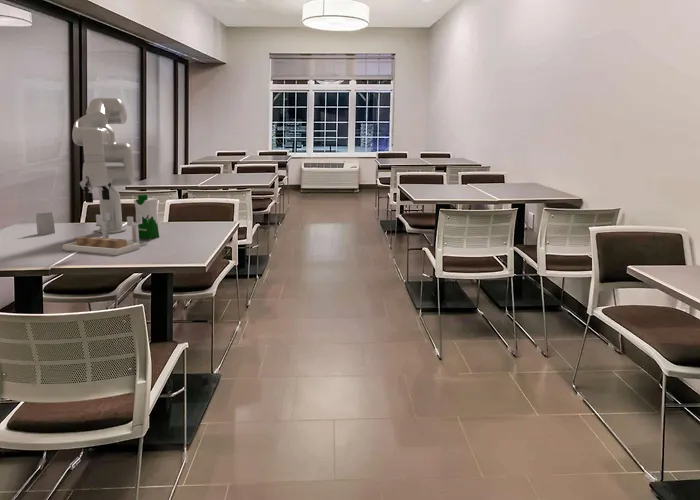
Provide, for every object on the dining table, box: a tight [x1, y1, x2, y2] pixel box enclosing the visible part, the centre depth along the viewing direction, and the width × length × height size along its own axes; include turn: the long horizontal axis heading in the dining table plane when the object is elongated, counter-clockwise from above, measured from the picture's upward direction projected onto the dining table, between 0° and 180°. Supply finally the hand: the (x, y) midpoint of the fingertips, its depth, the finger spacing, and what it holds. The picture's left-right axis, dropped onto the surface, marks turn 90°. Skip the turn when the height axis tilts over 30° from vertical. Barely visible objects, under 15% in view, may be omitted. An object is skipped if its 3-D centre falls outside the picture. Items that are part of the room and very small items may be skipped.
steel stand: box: [95, 213, 148, 248], centre depth 261 cm, size 22×7×13 cm, turn 72°
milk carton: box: [133, 194, 160, 240], centre depth 277 cm, size 9×9×20 cm
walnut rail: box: [75, 236, 127, 249], centre depth 251 cm, size 22×4×4 cm, turn 72°
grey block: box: [35, 211, 56, 236], centre depth 287 cm, size 4×7×10 cm, turn 132°
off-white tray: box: [62, 240, 141, 256], centre depth 251 cm, size 28×14×2 cm, turn 72°
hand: (98, 201), depth 248 cm, fingers open, 9 cm apart
